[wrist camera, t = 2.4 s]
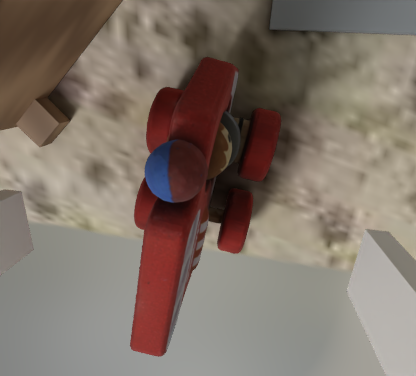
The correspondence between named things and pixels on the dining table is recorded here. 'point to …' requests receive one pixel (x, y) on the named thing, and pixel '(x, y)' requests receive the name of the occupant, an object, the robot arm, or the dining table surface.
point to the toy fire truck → (192, 190)
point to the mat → (345, 16)
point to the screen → (42, 58)
